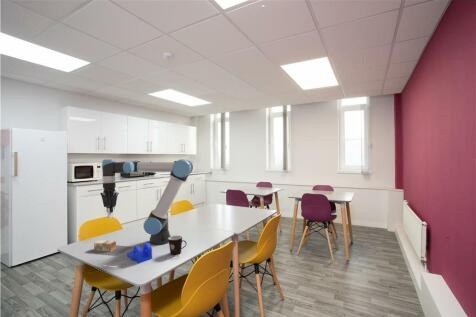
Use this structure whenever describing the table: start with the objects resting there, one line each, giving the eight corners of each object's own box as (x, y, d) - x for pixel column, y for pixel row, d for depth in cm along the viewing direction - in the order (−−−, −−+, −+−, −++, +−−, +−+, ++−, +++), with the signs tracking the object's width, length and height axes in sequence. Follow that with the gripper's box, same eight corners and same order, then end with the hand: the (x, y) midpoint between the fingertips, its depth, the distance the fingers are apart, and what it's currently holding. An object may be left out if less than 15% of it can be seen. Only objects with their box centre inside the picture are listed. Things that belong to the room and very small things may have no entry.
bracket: (152, 258, 143) (151, 244, 143) (138, 263, 137) (138, 248, 137) (137, 252, 155) (137, 238, 155) (125, 256, 149) (124, 242, 149)
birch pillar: (115, 241, 160) (100, 240, 163) (110, 243, 155) (94, 242, 159) (116, 248, 160) (100, 247, 163) (110, 251, 155) (94, 250, 159)
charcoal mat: (133, 247, 163) (133, 246, 163) (116, 256, 148) (116, 255, 148) (104, 245, 169) (104, 244, 169) (85, 254, 154) (85, 253, 154)
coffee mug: (166, 253, 150) (165, 237, 150) (178, 249, 156) (177, 234, 157) (175, 258, 142) (175, 242, 142) (187, 254, 148) (187, 238, 148)
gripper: (121, 181, 161) (122, 216, 160) (105, 181, 164) (106, 215, 164) (113, 182, 153) (114, 219, 153) (96, 182, 157) (97, 218, 156)
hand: (110, 217), depth 158 cm, fingers closed
